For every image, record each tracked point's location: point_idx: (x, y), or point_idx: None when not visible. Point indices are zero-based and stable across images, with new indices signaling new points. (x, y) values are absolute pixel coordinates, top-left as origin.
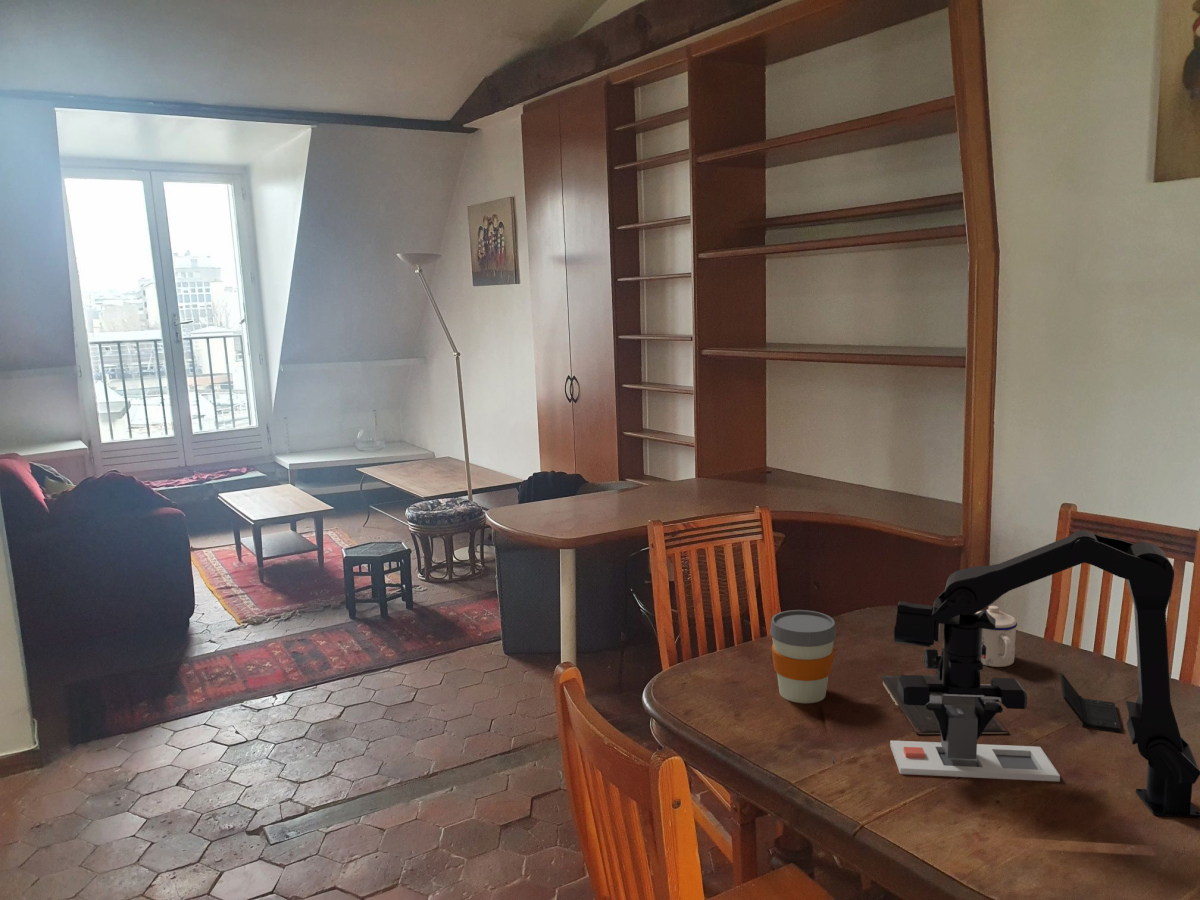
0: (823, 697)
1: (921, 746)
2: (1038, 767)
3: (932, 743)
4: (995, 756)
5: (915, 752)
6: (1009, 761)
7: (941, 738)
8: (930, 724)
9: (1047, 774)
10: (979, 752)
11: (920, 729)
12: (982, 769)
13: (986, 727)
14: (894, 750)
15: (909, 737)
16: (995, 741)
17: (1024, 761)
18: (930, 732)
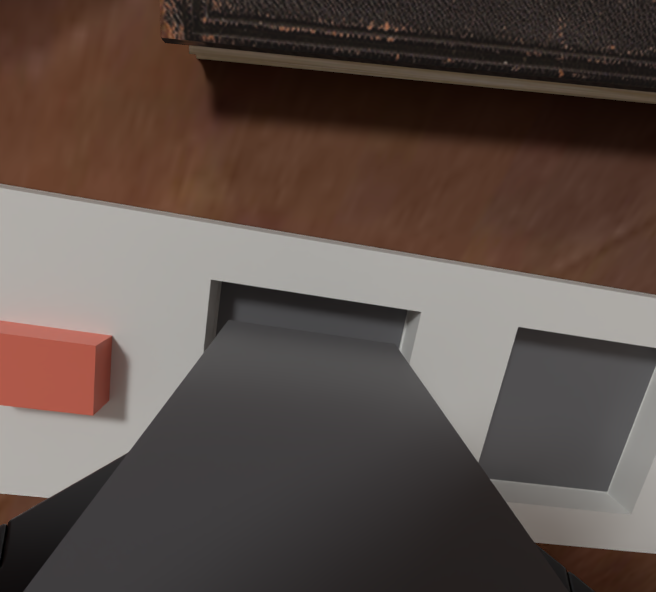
0: None
1: (125, 271)
2: (632, 451)
3: (205, 241)
4: (493, 398)
5: (35, 400)
6: (544, 385)
7: (217, 336)
8: None
9: (624, 547)
10: (434, 356)
11: (197, 9)
12: None
13: (646, 36)
14: None
15: (153, 19)
16: (609, 125)
17: (609, 390)
18: (260, 51)
